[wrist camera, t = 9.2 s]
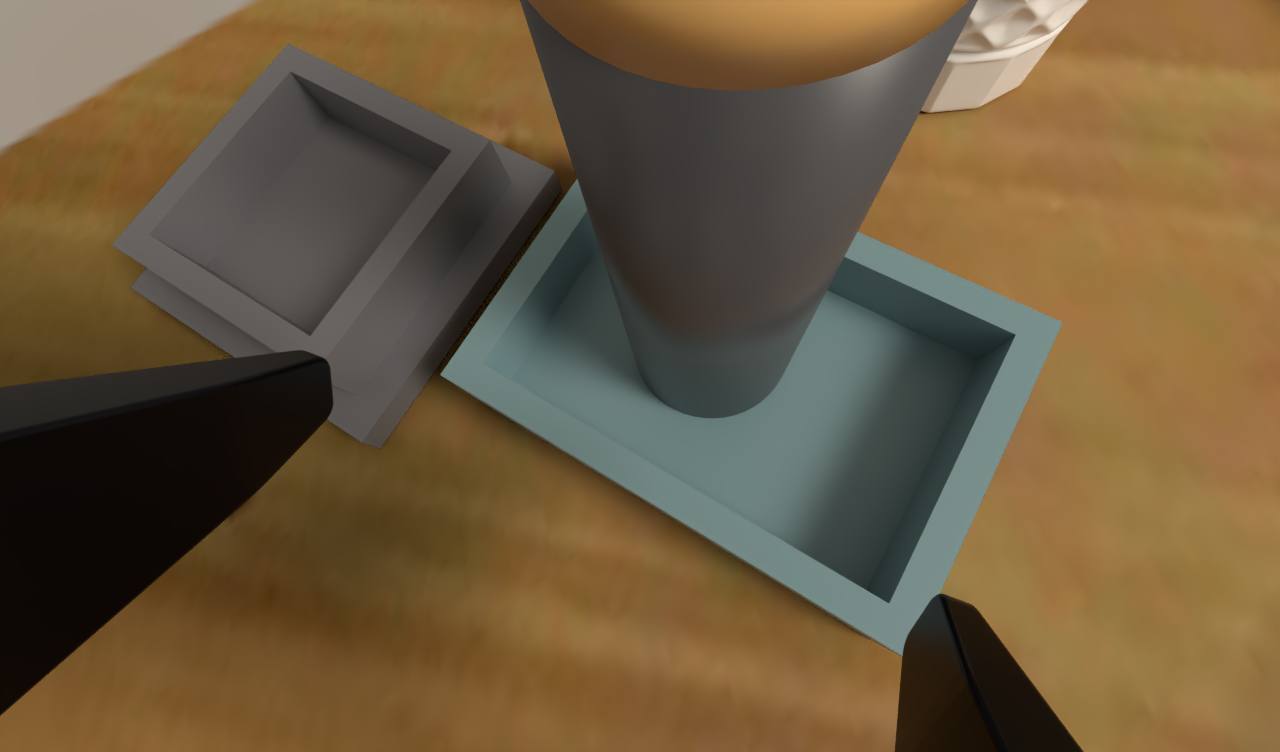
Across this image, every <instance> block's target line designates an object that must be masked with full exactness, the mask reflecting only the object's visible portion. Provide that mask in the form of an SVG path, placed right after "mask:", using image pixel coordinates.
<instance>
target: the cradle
mask: <svg viewBox="0 0 1280 752" xmlns="http://www.w3.org/2000/svg"><path fill="white" fill-rule="evenodd" d="M561 190H562V188H561V185H560V183H559V180H558V178H557V175H556V172H555V171H554V170H552V169H550V168H548V167H546V166H544V165H542V164H540V163H538V162H535V161H533V160H531V159H529V158H527V157H525V156H523V155H521V154H519V153H517V152H514V151H512V150H510V149H508V148H506V147H504V146H502V145H500V144H498V143H496V142H494V141H491V140H489V139H487V138H485V137H483V136H481V135H479V134H477V133H475V132H473V131H470V130H468V129H466V128H464V127H462V126H460V125H458V124H456V123H454V122H452V121H449V120H447V119H445V118H443V117H441V116H439V115H437V114H435V113H433V112H431V111H429V110H426V109H424V108H422V107H420V106H418V105H416V104H414V103H412V102H410V101H408V100H405V99H403V98H401V97H399V96H397V95H395V94H393V93H391V92H389V91H387V90H384V89H382V88H380V87H378V86H376V85H374V84H372V83H370V82H368V81H366V80H364V79H361V78H359V77H357V76H355V75H353V74H351V73H349V72H347V71H345V70H343V69H340V68H338V67H336V66H334V65H332V64H330V63H328V62H326V61H323V60H321V59H319V58H317V57H315V56H313V55H311V54H309V53H307V52H304V51H302V50H300V49H298V48H296V47H294V46H292V45H290V44H287V46H286V47H285V48H284V49H283V50H282V51H281V52H280V54H279V55H278V56H277V57H276V58H275V59H274V60H273V62H272V63H271V64H270V65H269V66H268V67H267V68H266V70H265V71H264V72H263V73H262V74H261V75H260V76H259V78H258V79H257V80H256V81H255V82H254V83H253V84H252V85H251V87H250V88H249V89H248V90H247V91H246V92H245V93H244V95H243V96H242V97H241V98H240V99H239V100H238V101H237V103H236V104H235V105H234V106H233V107H232V108H231V109H230V111H229V112H228V113H227V114H226V115H225V116H224V117H223V119H222V120H221V121H220V122H219V123H218V124H217V125H216V126H215V128H214V129H213V130H212V131H211V132H210V133H209V134H208V136H207V137H206V138H205V139H204V140H203V141H202V142H201V144H200V145H199V146H198V147H197V148H196V149H195V150H194V152H193V153H192V154H191V155H190V156H189V157H188V158H187V159H186V161H185V162H184V163H183V164H182V165H181V166H180V167H179V169H178V170H177V171H176V172H175V173H174V174H173V175H172V177H171V178H170V179H169V180H168V181H167V182H166V183H165V185H164V186H163V187H162V188H161V189H160V190H159V191H158V193H157V194H156V195H155V196H154V197H153V198H152V199H151V200H150V202H149V203H148V204H147V205H146V206H145V207H144V208H143V210H142V211H141V212H140V213H139V214H138V215H137V216H136V218H135V219H134V220H133V221H132V222H131V223H130V224H129V226H128V227H127V228H126V229H125V230H124V231H123V232H122V234H121V235H120V236H119V237H118V238H117V239H116V240H115V241H114V243H113V244H112V245H113V246H114V247H116V248H117V249H119V250H120V251H122V252H123V253H125V254H126V255H128V256H129V257H131V258H133V259H134V260H136V261H137V262H139V263H140V264H142V265H143V266H145V267H146V268H147V269H146V270H145V271H144V272H143V273H142V274H141V276H140V277H139V278H138V279H137V280H136V282H135V283H134V284H133V285H132V286H131V287H130V288H132V289H133V290H135V291H136V292H138V293H139V294H140V295H142V296H143V297H145V298H146V299H148V300H149V301H151V302H152V303H154V304H155V305H157V306H158V307H160V308H161V309H163V310H164V311H166V312H167V313H169V314H170V315H172V316H173V317H175V318H176V319H178V320H179V321H181V322H182V323H184V324H185V325H187V326H188V327H190V328H191V329H193V330H194V331H196V332H197V333H199V334H200V335H202V336H203V337H205V338H206V339H208V340H209V341H211V342H212V343H214V344H215V345H217V346H218V347H220V348H221V349H223V350H224V351H226V352H227V353H229V354H230V355H232V356H233V357H235V358H238V357H246V356H254V355H262V354H270V353H278V352H286V351H294V350H304V351H307V352H310V353H313V354H315V355H318V356H321V357H323V358H325V359H326V360H327V361H328V363H329V365H330V369H331V379H332V390H333V409H332V412H331V414H330V415H329V417H328V418H327V420H329V421H330V422H331V423H333V424H334V425H336V426H337V427H339V428H340V429H342V430H343V431H345V432H346V433H348V434H349V435H351V436H352V437H354V438H355V439H357V440H358V441H360V442H361V443H364V444H367V445H370V446H374V447H377V448H380V449H381V447H382V446H383V444H384V443H385V442H386V440H387V439H388V437H389V436H390V434H391V433H392V432H393V430H394V429H395V427H396V426H397V424H398V423H399V422H400V420H401V419H402V417H403V416H404V414H405V413H406V412H407V410H408V409H409V407H410V406H411V404H412V403H413V402H414V400H415V399H416V397H417V396H418V394H419V393H420V392H421V390H422V389H423V387H424V386H425V384H426V383H427V382H428V380H429V379H430V377H431V376H432V374H433V373H434V372H435V370H436V369H437V367H438V366H439V364H440V363H441V362H442V360H443V359H444V357H445V356H446V355H447V353H448V352H449V350H450V349H451V347H452V346H453V345H454V343H455V342H456V340H457V339H458V337H459V336H460V335H461V333H462V332H463V330H464V329H465V327H466V326H467V325H468V323H469V322H470V320H471V319H472V317H473V316H474V315H475V313H476V312H477V310H478V309H479V307H480V306H481V305H482V303H483V302H484V300H485V299H486V297H487V296H488V295H489V293H490V292H491V290H492V289H493V287H494V286H495V285H496V283H497V282H498V280H499V279H500V277H501V276H502V275H503V273H504V272H505V270H506V269H507V267H508V266H509V265H510V263H511V262H512V260H513V259H514V258H515V256H516V255H517V253H518V252H519V250H520V249H521V248H522V246H523V245H524V243H525V242H526V240H527V239H528V238H529V236H530V235H531V233H532V232H533V230H534V229H535V228H536V226H537V225H538V223H539V222H540V220H541V219H542V218H543V216H544V215H545V213H546V212H547V210H548V209H549V208H550V206H551V205H552V203H553V202H554V200H555V199H556V198H557V196H558V195H559V193H560V192H561Z"/></svg>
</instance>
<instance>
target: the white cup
mask: <svg viewBox="0 0 1280 752" xmlns="http://www.w3.org/2000/svg"><path fill="white" fill-rule="evenodd" d="M1088 1H1090V0H978V1H977V3H976V5H975V7H974V9H973V11H972V13H971V14H970V16H969V18H968V20H967V22H966V24H965V26H964V28H963V30H962V32H961V34H960V36H959V38H958V39H957V41H956V43H955V45H954V47H953V49H952V51H951V53H950V55H949V57H948V59H947V61H946V63H945V64H944V66H943V68H942V70H941V72H940V74H939V76H938V78H937V80H936V82H935V84H934V86H933V88H932V89H931V91H930V93H929V95H928V97H927V99H926V101H925V103H924V105H923V107H922V109H921V111H923V112H927V113H933V112H943V111H953V110H964V109H974V108H978V107H980V106H982V105H984V104H986V103H988V102H990V101H992V100H994V99H995V98H997V97H999V96H1001V95H1003V94H1005V93H1007V92H1009V91H1011V90H1013V89H1014V88H1016V87H1018V86H1019V85H1020V84H1021V83H1022V82H1023V80H1024V79H1025V78H1026V76H1027V75H1028V74H1029V72H1030V71H1031V70H1032V68H1033V67H1034V66H1035V64H1036V63H1037V62H1038V60H1039V59H1040V58H1041V56H1042V55H1043V54H1044V52H1045V51H1046V50H1047V48H1048V47H1049V46H1050V45H1051V43H1052V42H1053V41H1054V39H1055V38H1056V37H1057V35H1058V34H1059V33H1060V32H1061V30H1062V29H1063V28H1064V27H1065V26H1066V25H1067V23H1068V22H1069V21H1070V20H1071V18H1072V17H1073V16H1074V14H1075V13H1076V12H1077V11H1078V10H1079V9H1080V8H1081V7H1082V6H1084V5H1085V4H1086V3H1087V2H1088Z"/></svg>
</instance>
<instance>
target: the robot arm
mask: <svg viewBox="0 0 1280 752" xmlns="http://www.w3.org/2000/svg"><path fill="white" fill-rule="evenodd" d="M332 409H333V390H332V379H331V369H330V365H329V363H328V361H327V360H326V359H325V358H323V357H321V356H318V355H315V354H313V353H310V352H307V351H304V350H294V351H286V352H278V353H270V354H262V355H254V356H246V357H238V358H230V359H222V360H214V361H206V362H198V363H190V364H182V365H174V366H166V367H158V368H150V369H142V370H134V371H126V372H118V373H109V374H101V375H93V376H85V377H77V378H69V379H61V380H53V381H45V382H37V383H29V384H21V385H13V386H5V387H0V716H1V715H2V714H3V713H4V712H5V711H6V710H7V709H9V708H10V707H11V706H12V705H13V704H14V703H15V702H17V701H18V700H19V699H20V698H21V697H22V696H24V695H25V694H26V693H27V692H28V691H29V690H30V689H32V688H33V687H34V686H35V685H36V684H37V683H38V682H40V681H41V680H42V679H43V678H44V677H45V676H46V675H48V674H49V673H50V672H51V671H52V670H53V669H55V668H56V667H57V666H58V665H59V664H60V663H61V662H63V661H64V660H65V659H66V658H67V657H68V656H69V655H71V654H72V653H73V652H74V651H75V650H76V649H78V648H79V647H80V646H81V645H82V644H83V643H84V642H86V641H87V640H88V639H89V638H90V637H91V636H92V635H94V634H95V633H96V632H97V631H98V630H99V629H100V628H102V627H103V626H104V625H105V624H106V623H107V622H109V621H110V620H111V619H112V618H113V617H114V616H115V615H117V614H118V613H119V612H120V611H121V610H122V609H123V608H125V607H126V606H127V605H128V604H129V603H130V602H132V601H133V600H134V599H135V598H136V597H137V596H138V595H140V594H141V593H142V592H143V591H144V590H145V589H146V588H148V587H149V586H150V585H151V584H152V583H153V582H154V581H156V580H157V579H158V578H159V577H160V576H161V575H163V574H164V573H165V572H166V571H167V570H168V569H169V568H171V567H172V566H173V565H174V564H175V563H176V562H177V561H179V560H180V559H181V558H182V557H183V556H184V555H186V554H187V553H188V552H189V551H190V550H191V549H192V548H194V547H195V546H196V545H197V544H198V543H199V542H200V541H202V540H203V539H204V538H205V537H206V536H207V535H208V534H210V533H211V532H212V531H213V530H214V529H215V528H217V527H218V526H219V525H220V524H221V523H222V522H223V521H225V520H226V519H227V518H228V517H229V516H230V515H231V514H233V513H234V512H235V511H236V510H237V509H238V508H240V507H241V506H242V505H243V504H244V503H245V502H246V501H247V500H248V499H250V498H251V497H252V496H253V495H254V494H255V493H256V492H257V491H258V490H259V489H260V488H261V487H262V486H263V485H264V484H265V483H266V482H267V481H268V480H269V479H270V478H271V477H272V476H273V475H274V474H275V473H276V472H277V471H278V470H279V469H280V468H281V467H282V466H283V465H284V464H285V463H286V462H287V461H288V459H289V458H290V457H291V456H292V455H293V454H294V453H295V452H296V451H297V450H298V449H299V448H300V447H301V446H302V445H303V444H304V443H305V442H306V441H307V440H308V439H309V438H310V436H311V435H312V434H313V433H314V432H315V431H316V430H317V429H318V428H319V427H320V426H321V425H322V424H323V423H324V422H325V421H326V420H327V418H328V417H329V415H330V414H331V412H332ZM895 752H1083V750H1082V749H1081V748H1080V746H1079V745H1078V744H1077V742H1076V741H1075V740H1074V738H1073V737H1072V736H1071V734H1070V733H1069V732H1068V730H1067V729H1066V728H1065V726H1064V725H1063V724H1062V722H1061V721H1060V720H1059V718H1058V717H1057V716H1056V714H1055V713H1054V711H1053V710H1052V709H1051V707H1050V706H1049V705H1048V703H1047V702H1046V701H1045V699H1044V698H1043V697H1042V695H1041V694H1040V693H1039V691H1038V690H1037V689H1036V687H1035V686H1034V685H1033V683H1032V682H1031V681H1030V679H1029V678H1028V677H1027V675H1026V674H1025V673H1024V671H1023V670H1022V669H1021V667H1020V666H1019V664H1018V663H1017V662H1016V660H1015V659H1014V658H1013V656H1012V655H1011V654H1010V652H1009V651H1008V650H1007V648H1006V647H1005V646H1004V644H1003V643H1002V642H1001V640H1000V639H999V638H998V636H997V635H996V634H995V632H994V631H993V630H992V628H991V627H990V626H989V624H988V623H987V622H986V620H985V619H984V618H983V616H982V615H981V613H980V612H979V611H978V610H977V609H976V608H975V607H974V606H973V605H971V604H969V603H967V602H964V601H961V600H959V599H956V598H953V597H951V596H948V595H946V594H937V595H936V596H934V597H933V598H932V599H931V600H930V602H929V603H928V605H927V606H926V608H925V609H924V611H923V612H922V614H921V615H920V617H919V618H918V620H917V621H916V623H915V624H914V626H913V627H912V629H911V630H910V632H909V633H908V635H907V638H906V640H905V644H904V648H903V656H902V669H901V681H900V693H899V705H898V718H897V730H896V742H895Z"/></svg>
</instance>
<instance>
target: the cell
mask: <svg viewBox="0 0 1280 752" xmlns="http://www.w3.org/2000/svg"><path fill="white" fill-rule="evenodd" d="M977 1H978V0H520V2H521V5H522V8H523V11H524V14H525V17H526V20H527V23H528V27H529V30H530V33H531V36H532V39H533V42H534V45H535V48H536V52H537V55H538V58H539V61H540V64H541V67H542V70H543V73H544V76H545V80H546V83H547V86H548V89H549V92H550V95H551V98H552V101H553V105H554V108H555V111H556V114H557V117H558V120H559V123H560V126H561V130H562V133H563V136H564V139H565V142H566V145H567V148H568V151H569V155H570V158H571V161H572V164H573V167H574V170H575V173H576V176H577V180H578V183H579V186H580V189H581V192H582V195H583V198H584V201H585V205H586V208H587V211H588V214H589V217H590V220H591V223H592V226H593V230H594V233H595V236H596V239H597V242H598V245H599V248H600V251H601V255H602V258H603V261H604V264H605V267H606V270H607V273H608V276H609V280H610V283H611V286H612V289H613V292H614V295H615V298H616V301H617V304H618V308H619V311H620V314H621V317H622V320H623V323H624V326H625V329H626V333H627V336H628V339H629V342H630V345H631V348H632V351H633V354H634V358H635V361H636V364H637V367H638V369H639V372H640V374H641V376H642V378H643V380H644V382H645V383H646V385H647V386H648V388H649V389H650V390H651V391H652V392H653V394H654V395H655V396H656V397H657V398H659V399H660V400H661V401H662V402H663V403H665V404H666V405H668V406H669V407H671V408H673V409H675V410H677V411H679V412H681V413H684V414H687V415H690V416H694V417H700V418H725V417H729V416H734V415H737V414H740V413H742V412H745V411H747V410H749V409H751V408H753V407H755V406H756V405H757V404H759V403H760V402H762V401H763V400H764V399H765V398H766V397H767V396H768V395H769V394H770V393H771V392H772V391H773V390H774V388H775V387H776V386H777V384H778V383H779V381H780V379H781V378H782V376H783V374H784V372H785V370H786V368H787V366H788V364H789V362H790V361H791V359H792V357H793V355H794V353H795V351H796V349H797V347H798V345H799V343H800V341H801V339H802V337H803V336H804V334H805V332H806V330H807V328H808V326H809V324H810V322H811V320H812V318H813V316H814V314H815V313H816V311H817V309H818V307H819V305H820V303H821V301H822V299H823V297H824V295H825V293H826V291H827V289H828V288H829V286H830V284H831V282H832V280H833V278H834V276H835V274H836V272H837V270H838V268H839V266H840V264H841V263H842V261H843V259H844V257H845V255H846V253H847V251H848V249H849V247H850V245H851V243H852V241H853V239H854V238H855V236H856V234H857V232H858V230H859V228H860V226H861V224H862V222H863V220H864V218H865V216H866V214H867V213H868V211H869V209H870V207H871V205H872V203H873V201H874V199H875V197H876V195H877V193H878V191H879V189H880V188H881V186H882V184H883V182H884V180H885V178H886V176H887V174H888V172H889V170H890V168H891V166H892V164H893V163H894V161H895V159H896V157H897V155H898V153H899V151H900V149H901V147H902V145H903V143H904V141H905V139H906V138H907V136H908V134H909V132H910V130H911V128H912V126H913V124H914V122H915V120H916V118H917V116H918V114H919V113H920V111H921V109H922V107H923V105H924V103H925V101H926V99H927V97H928V95H929V93H930V91H931V89H932V88H933V86H934V84H935V82H936V80H937V78H938V76H939V74H940V72H941V70H942V68H943V66H944V64H945V63H946V61H947V59H948V57H949V55H950V53H951V51H952V49H953V47H954V45H955V43H956V41H957V39H958V38H959V36H960V34H961V32H962V30H963V28H964V26H965V24H966V22H967V20H968V18H969V16H970V14H971V13H972V11H973V9H974V7H975V5H976V3H977Z"/></svg>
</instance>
